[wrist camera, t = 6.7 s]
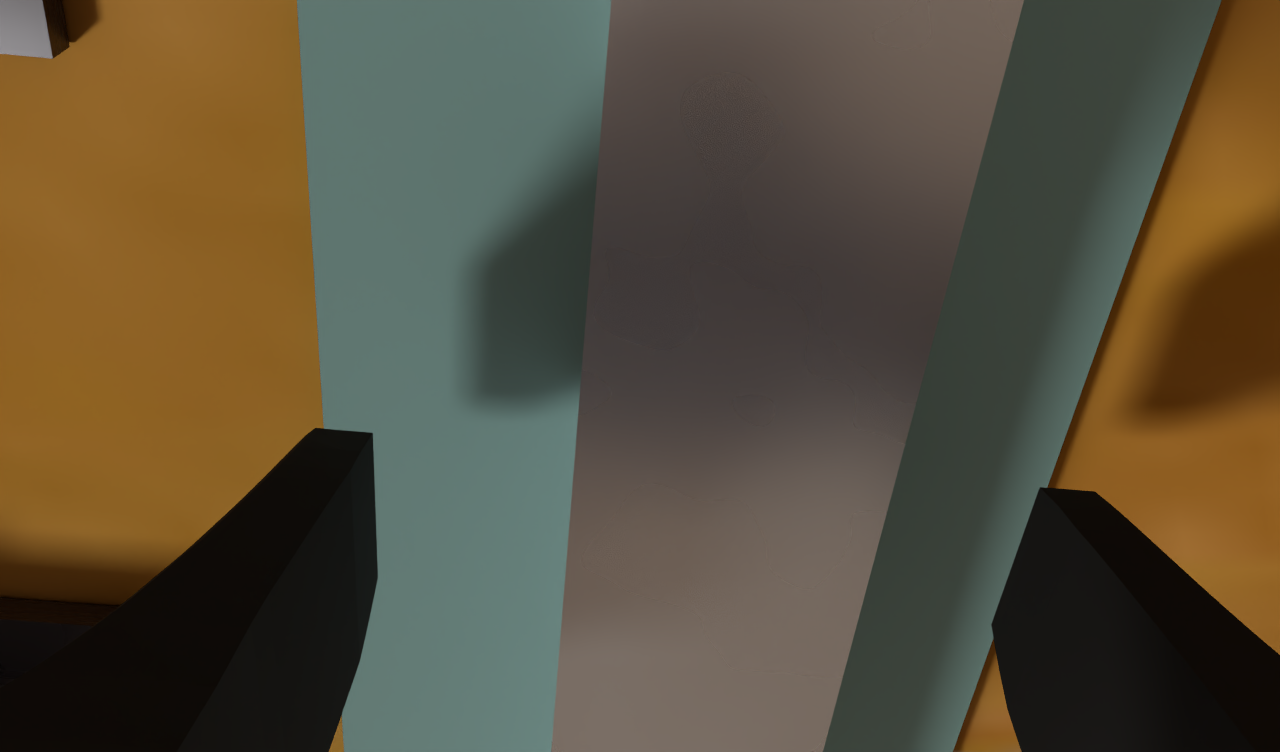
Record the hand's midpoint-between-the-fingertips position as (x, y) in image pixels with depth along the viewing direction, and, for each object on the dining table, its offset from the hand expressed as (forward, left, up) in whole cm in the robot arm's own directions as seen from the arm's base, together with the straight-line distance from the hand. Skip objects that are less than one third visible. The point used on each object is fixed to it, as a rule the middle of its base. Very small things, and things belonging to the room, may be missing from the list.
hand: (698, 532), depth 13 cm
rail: (0, 0, -2) cm, 2 cm away
